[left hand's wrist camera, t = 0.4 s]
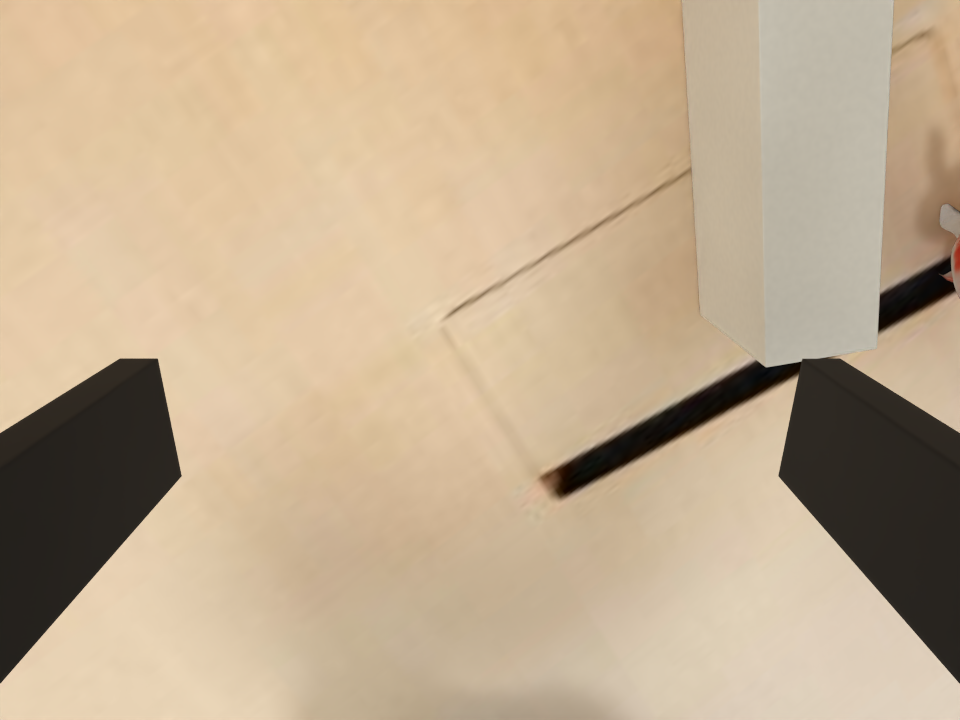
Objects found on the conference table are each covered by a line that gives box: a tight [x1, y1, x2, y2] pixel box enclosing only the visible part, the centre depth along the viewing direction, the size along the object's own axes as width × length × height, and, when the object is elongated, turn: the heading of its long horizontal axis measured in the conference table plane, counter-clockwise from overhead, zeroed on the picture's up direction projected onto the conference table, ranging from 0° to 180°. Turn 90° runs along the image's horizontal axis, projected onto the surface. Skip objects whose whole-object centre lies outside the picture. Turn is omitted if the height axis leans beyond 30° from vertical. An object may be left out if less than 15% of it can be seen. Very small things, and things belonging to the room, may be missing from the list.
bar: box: [682, 0, 894, 367], centre depth 29 cm, size 26×5×9 cm, turn 11°
